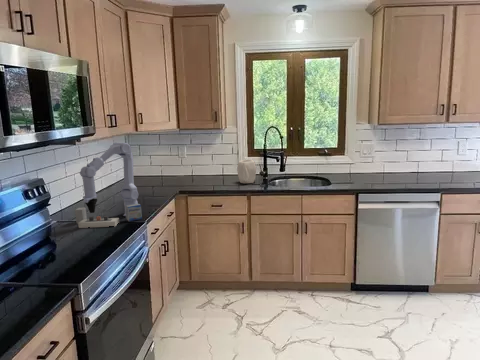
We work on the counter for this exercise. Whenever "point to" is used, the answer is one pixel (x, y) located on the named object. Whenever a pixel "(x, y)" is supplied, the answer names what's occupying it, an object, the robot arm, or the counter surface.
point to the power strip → (98, 223)
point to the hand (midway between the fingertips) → (92, 212)
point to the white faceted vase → (246, 171)
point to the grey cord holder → (80, 214)
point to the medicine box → (133, 212)
